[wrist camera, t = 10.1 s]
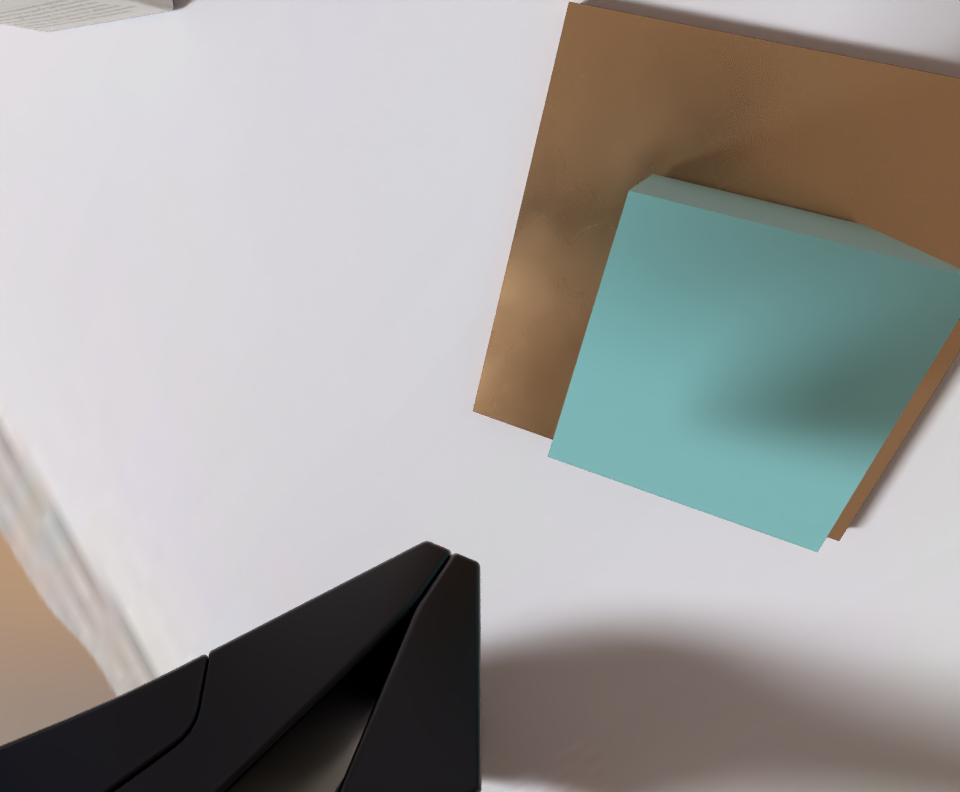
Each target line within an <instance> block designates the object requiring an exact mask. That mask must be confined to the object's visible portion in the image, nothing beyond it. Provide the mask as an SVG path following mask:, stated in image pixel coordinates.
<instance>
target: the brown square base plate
mask: <svg viewBox="0 0 960 792" xmlns="http://www.w3.org/2000/svg"><path fill="white" fill-rule="evenodd" d="M652 174H656V175H660V176H664V177H668V178H672V179H677V180H681V181H685V182H689V183H693V184H697V185H701V186H706V187H710V188H714V189H718V190H722V191H726V192H730V193H734V194H739V195H743V196H747V197H751V198H755V199H759V200H763V201H767V202H772V203H776V204H780V205H784V206H788V207H792V208H796V209H800V210H805V211H809V212H813V213H817V214H821V215H825V216H829V217H833V218H838V219H842V220H846V221H850V222H854V223H858V224H862V225H866V226H868V227H870V228H872V229H874V230H877V231H879V232H881V233H883V234H885V235H888V236H890V237H892V238H894V239H896V240H898V241H901V242H903V243H905V244H907V245H909V246H912V247H914V248H916V249H918V250H920V251H922V252H925V253H927V254H929V255H931V256H933V257H936V258H938V259H940V260H942V261H944V262H946V263H949V264H951V265H953V266H955V267H957V268H960V79H959V78H954V77H949V76H944V75H939V74H934V73H929V72H924V71H919V70H914V69H909V68H903V67H898V66H893V65H888V64H883V63H878V62H873V61H868V60H863V59H858V58H853V57H848V56H843V55H837V54H832V53H827V52H822V51H817V50H812V49H807V48H802V47H797V46H792V45H787V44H782V43H777V42H771V41H766V40H761V39H756V38H751V37H746V36H741V35H736V34H731V33H726V32H721V31H716V30H711V29H705V28H700V27H695V26H690V25H685V24H680V23H675V22H670V21H665V20H660V19H655V18H650V17H645V16H639V15H634V14H629V13H624V12H619V11H614V10H609V9H604V8H599V7H594V6H589V5H584V4H579V3H573V2H569V4H568V8H567V12H566V17H565V21H564V25H563V29H562V34H561V38H560V42H559V46H558V51H557V55H556V59H555V64H554V68H553V72H552V76H551V81H550V85H549V89H548V93H547V98H546V102H545V106H544V110H543V115H542V119H541V123H540V127H539V132H538V136H537V140H536V144H535V149H534V153H533V157H532V161H531V166H530V170H529V174H528V179H527V183H526V187H525V191H524V196H523V200H522V204H521V208H520V213H519V217H518V221H517V225H516V230H515V234H514V238H513V242H512V247H511V251H510V255H509V259H508V264H507V268H506V272H505V276H504V281H503V285H502V289H501V294H500V298H499V302H498V306H497V311H496V315H495V319H494V323H493V328H492V332H491V336H490V340H489V345H488V349H487V353H486V357H485V362H484V366H483V370H482V374H481V379H480V383H479V387H478V391H477V396H476V400H475V404H474V409H473V411H474V412H476V413H479V414H482V415H485V416H488V417H491V418H493V419H496V420H499V421H502V422H505V423H507V424H510V425H513V426H516V427H519V428H522V429H524V430H527V431H530V432H533V433H536V434H538V435H541V436H544V437H547V438H550V439H553V438H554V434H555V431H556V428H557V425H558V421H559V418H560V415H561V411H562V408H563V405H564V402H565V398H566V395H567V392H568V388H569V385H570V382H571V379H572V375H573V372H574V369H575V366H576V362H577V359H578V356H579V352H580V349H581V346H582V343H583V339H584V336H585V333H586V329H587V326H588V323H589V320H590V316H591V313H592V310H593V306H594V303H595V300H596V297H597V293H598V290H599V287H600V284H601V280H602V277H603V274H604V270H605V267H606V264H607V261H608V257H609V254H610V251H611V247H612V244H613V241H614V238H615V234H616V231H617V228H618V224H619V221H620V218H621V215H622V211H623V208H624V205H625V202H626V198H627V195H628V192H629V190H630V189H632V188H633V187H635V186H636V185H638V184H639V183H640V182H642V181H643V180H645V179H646V178H648V177H649V176H650V175H652ZM959 351H960V318H959V320H958V322H957V323H956V325H955V327H954V328H953V330H952V332H951V333H950V335H949V337H948V338H947V340H946V342H945V343H944V345H943V346H942V348H941V350H940V351H939V353H938V355H937V356H936V358H935V360H934V361H933V363H932V365H931V366H930V368H929V370H928V371H927V373H926V374H925V376H924V378H923V379H922V381H921V383H920V384H919V386H918V388H917V389H916V391H915V393H914V394H913V396H912V398H911V399H910V401H909V402H908V404H907V406H906V407H905V409H904V411H903V412H902V414H901V416H900V417H899V419H898V421H897V422H896V424H895V426H894V427H893V429H892V430H891V432H890V434H889V435H888V437H887V439H886V440H885V442H884V444H883V445H882V447H881V449H880V450H879V452H878V454H877V455H876V457H875V458H874V460H873V462H872V463H871V465H870V467H869V468H868V470H867V472H866V473H865V475H864V477H863V478H862V480H861V482H860V483H859V485H858V486H857V488H856V490H855V491H854V493H853V495H852V496H851V498H850V500H849V501H848V503H847V505H846V506H845V508H844V510H843V511H842V513H841V514H840V516H839V518H838V519H837V521H836V523H835V524H834V526H833V528H832V529H831V531H830V533H829V534H828V536H827V537H829V538H832V539H835V540H837V541H839V540H840V539H841V537H842V536H843V534H844V533H845V531H846V529H847V528H848V526H849V525H850V523H851V522H852V520H853V518H854V517H855V515H856V514H857V512H858V510H859V509H860V507H861V506H862V504H863V503H864V501H865V499H866V498H867V496H868V495H869V493H870V492H871V490H872V488H873V487H874V485H875V484H876V482H877V481H878V479H879V477H880V476H881V474H882V473H883V471H884V469H885V468H886V466H887V465H888V463H889V462H890V460H891V458H892V457H893V455H894V454H895V452H896V451H897V449H898V447H899V446H900V444H901V443H902V441H903V440H904V438H905V436H906V435H907V433H908V432H909V430H910V428H911V427H912V425H913V424H914V422H915V421H916V419H917V417H918V416H919V414H920V413H921V411H922V410H923V408H924V406H925V405H926V403H927V402H928V400H929V399H930V397H931V395H932V394H933V392H934V391H935V389H936V387H937V386H938V384H939V383H940V381H941V380H942V378H943V376H944V375H945V373H946V372H947V370H948V369H949V367H950V365H951V364H952V362H953V361H954V359H955V358H956V356H957V354H958V353H959Z"/></svg>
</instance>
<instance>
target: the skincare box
mask: <svg viewBox="0 0 960 792" xmlns="http://www.w3.org/2000/svg"><path fill="white" fill-rule="evenodd" d="M172 10H173V0H0V24H3V25H9V26H14V27H20V28H25V29H31V30H36V31H42V32H52V31H56V30H63V29H69V28H75V27H81V26H87V25H92V24H99V23H105V22H110V21H115V20H121V19H128V18H133V17H138V16H144V15H150V14H156V13H162V12H169V11H172Z"/></svg>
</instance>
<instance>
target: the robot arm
mask: <svg viewBox="0 0 960 792" xmlns="http://www.w3.org/2000/svg"><path fill="white" fill-rule="evenodd" d="M0 792H481V622H480V565H479V563H478V562H476V561H474V560H472V559H469V558H467V557H465V556H462V555H460V554H457V553H456V554H453V555H451V552H450V550H448V549H446V548H444V547H441V546H439V545H437V544H434V543H432V542H429V541H426V542H422V543H420V544H418V545H416V546H414V547H412V548H411V549H409V550H407V551H405V552H403V553H401V554H399V555H397V556H395V557H393V558H391V559H389V560H387V561H385V562H383V563H381V564H379V565H377V566H376V567H374V568H372V569H370V570H368V571H366V572H364V573H362V574H360V575H358V576H356V577H354V578H352V579H350V580H348V581H346V582H344V583H342V584H340V585H339V586H337V587H335V588H333V589H331V590H329V591H327V592H325V593H323V594H321V595H319V596H317V597H315V598H313V599H311V600H309V601H307V602H305V603H304V604H302V605H300V606H298V607H296V608H294V609H292V610H290V611H288V612H286V613H284V614H282V615H280V616H278V617H276V618H274V619H272V620H270V621H269V622H267V623H265V624H263V625H261V626H259V627H257V628H255V629H253V630H251V631H249V632H247V633H245V634H243V635H241V636H239V637H237V638H235V639H233V640H232V641H230V642H228V643H226V644H224V645H222V646H220V647H218V648H216V649H214V650H212V651H211V652H210V653H209V657H208V656H207V655H202V656H200V657H198V658H196V659H194V660H192V661H190V662H188V663H186V664H184V665H182V666H180V667H178V668H176V669H175V670H173V671H170V672H168V673H166V674H164V675H162V676H160V677H158V678H156V679H154V680H152V681H150V682H148V683H146V684H144V685H142V686H139V687H137V688H135V689H133V690H131V691H129V692H127V693H125V694H123V695H121V696H118V697H116V698H114V699H111V700H109V701H107V702H104V703H102V704H100V705H98V706H95V707H93V708H91V709H88V710H86V711H84V712H81V713H79V714H77V715H74V716H72V717H70V718H67V719H65V720H63V721H60V722H58V723H55V724H53V725H50V726H48V727H45V728H43V729H41V730H38V731H36V732H33V733H31V734H28V735H26V736H23V737H21V738H19V739H16V740H14V741H11V742H9V743H7V744H4V745H2V746H0Z"/></svg>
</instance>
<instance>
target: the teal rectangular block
mask: <svg viewBox="0 0 960 792" xmlns="http://www.w3.org/2000/svg"><path fill="white" fill-rule="evenodd" d="M959 318H960V268H957V267H955V266H953V265H951V264H949V263H946V262H944V261H942V260H940V259H938V258H936V257H933V256H931V255H929V254H927V253H925V252H922V251H920V250H918V249H916V248H914V247H912V246H909V245H907V244H905V243H903V242H901V241H898V240H896V239H894V238H892V237H890V236H888V235H885V234H883V233H881V232H879V231H877V230H874V229H872V228H870V227H868V226H866V225H862V224H858V223H854V222H850V221H846V220H842V219H838V218H833V217H829V216H825V215H821V214H817V213H813V212H809V211H805V210H800V209H796V208H792V207H788V206H784V205H780V204H776V203H772V202H767V201H763V200H759V199H755V198H751V197H747V196H743V195H739V194H734V193H730V192H726V191H722V190H718V189H714V188H710V187H706V186H701V185H697V184H693V183H689V182H685V181H681V180H677V179H672V178H668V177H664V176H660V175H656V174H652V175H650V176H649V177H648V178H646V179H645V180H643V181H642V182H640V183H639V184H638V185H636V186H635V187H633V188H632V189H630V190H629V192H628V195H627V198H626V202H625V205H624V208H623V211H622V215H621V218H620V221H619V224H618V228H617V231H616V234H615V238H614V241H613V244H612V247H611V251H610V254H609V257H608V261H607V264H606V267H605V270H604V274H603V277H602V280H601V284H600V287H599V290H598V293H597V297H596V300H595V303H594V306H593V310H592V313H591V316H590V320H589V323H588V326H587V329H586V333H585V336H584V339H583V343H582V346H581V349H580V352H579V356H578V359H577V362H576V366H575V369H574V372H573V375H572V379H571V382H570V385H569V388H568V392H567V395H566V398H565V402H564V405H563V408H562V411H561V415H560V418H559V421H558V425H557V428H556V431H555V434H554V438H553V441H552V444H551V448H550V451H549V454H548V457H550V458H553V459H556V460H559V461H561V462H564V463H567V464H570V465H573V466H576V467H578V468H581V469H584V470H587V471H590V472H592V473H595V474H598V475H601V476H604V477H607V478H609V479H612V480H615V481H618V482H621V483H623V484H626V485H629V486H632V487H635V488H638V489H640V490H643V491H646V492H649V493H652V494H655V495H657V496H660V497H663V498H666V499H669V500H671V501H674V502H677V503H680V504H683V505H686V506H688V507H691V508H694V509H697V510H700V511H702V512H705V513H708V514H711V515H714V516H717V517H719V518H722V519H725V520H728V521H731V522H734V523H736V524H739V525H742V526H745V527H748V528H750V529H753V530H756V531H759V532H762V533H765V534H767V535H770V536H773V537H776V538H779V539H781V540H784V541H787V542H790V543H793V544H796V545H798V546H801V547H804V548H807V549H810V550H813V551H815V552H818V551H819V549H820V547H821V546H822V544H823V542H824V541H825V539H826V538H827V536H828V534H829V533H830V531H831V529H832V528H833V526H834V524H835V523H836V521H837V519H838V518H839V516H840V514H841V513H842V511H843V510H844V508H845V506H846V505H847V503H848V501H849V500H850V498H851V496H852V495H853V493H854V491H855V490H856V488H857V486H858V485H859V483H860V482H861V480H862V478H863V477H864V475H865V473H866V472H867V470H868V468H869V467H870V465H871V463H872V462H873V460H874V458H875V457H876V455H877V454H878V452H879V450H880V449H881V447H882V445H883V444H884V442H885V440H886V439H887V437H888V435H889V434H890V432H891V430H892V429H893V427H894V426H895V424H896V422H897V421H898V419H899V417H900V416H901V414H902V412H903V411H904V409H905V407H906V406H907V404H908V402H909V401H910V399H911V398H912V396H913V394H914V393H915V391H916V389H917V388H918V386H919V384H920V383H921V381H922V379H923V378H924V376H925V374H926V373H927V371H928V370H929V368H930V366H931V365H932V363H933V361H934V360H935V358H936V356H937V355H938V353H939V351H940V350H941V348H942V346H943V345H944V343H945V342H946V340H947V338H948V337H949V335H950V333H951V332H952V330H953V328H954V327H955V325H956V323H957V322H958V320H959Z"/></svg>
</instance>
